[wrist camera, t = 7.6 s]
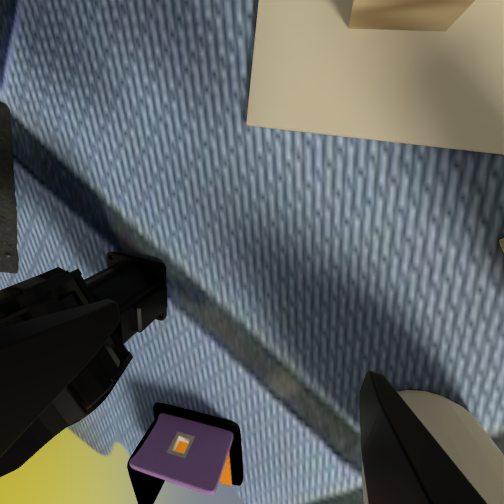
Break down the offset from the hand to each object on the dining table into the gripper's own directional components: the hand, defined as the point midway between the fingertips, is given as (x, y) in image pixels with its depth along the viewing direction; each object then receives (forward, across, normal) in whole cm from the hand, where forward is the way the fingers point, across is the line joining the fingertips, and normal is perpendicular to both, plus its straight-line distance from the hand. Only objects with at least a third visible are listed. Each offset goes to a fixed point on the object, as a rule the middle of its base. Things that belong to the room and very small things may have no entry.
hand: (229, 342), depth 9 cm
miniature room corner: (+14, +7, +30) cm, 34 cm away
